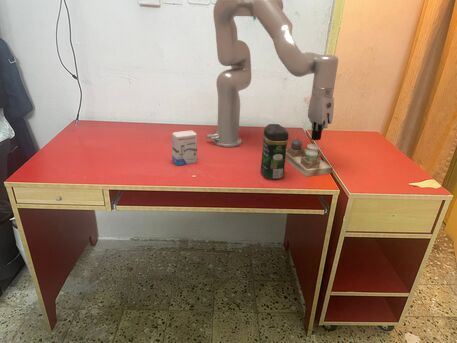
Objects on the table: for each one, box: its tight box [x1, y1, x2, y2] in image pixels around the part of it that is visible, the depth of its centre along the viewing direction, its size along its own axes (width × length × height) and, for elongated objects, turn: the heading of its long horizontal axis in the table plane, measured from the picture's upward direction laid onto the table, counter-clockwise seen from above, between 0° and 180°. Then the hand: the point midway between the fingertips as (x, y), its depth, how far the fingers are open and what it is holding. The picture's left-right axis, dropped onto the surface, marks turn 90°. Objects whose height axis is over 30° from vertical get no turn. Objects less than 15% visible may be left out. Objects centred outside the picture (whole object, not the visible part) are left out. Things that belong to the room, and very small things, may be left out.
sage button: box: [305, 150, 319, 162], centre depth 127 cm, size 4×4×4 cm
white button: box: [306, 143, 320, 153], centre depth 133 cm, size 4×4×4 cm
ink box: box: [171, 130, 198, 166], centre depth 130 cm, size 9×5×12 cm, turn 117°
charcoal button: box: [290, 139, 304, 151], centre depth 136 cm, size 4×4×4 cm
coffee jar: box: [260, 123, 289, 180], centre depth 122 cm, size 10×8×19 cm
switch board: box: [285, 145, 333, 178], centre depth 134 cm, size 11×18×5 cm, turn 19°
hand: (315, 139), depth 130 cm, fingers closed
